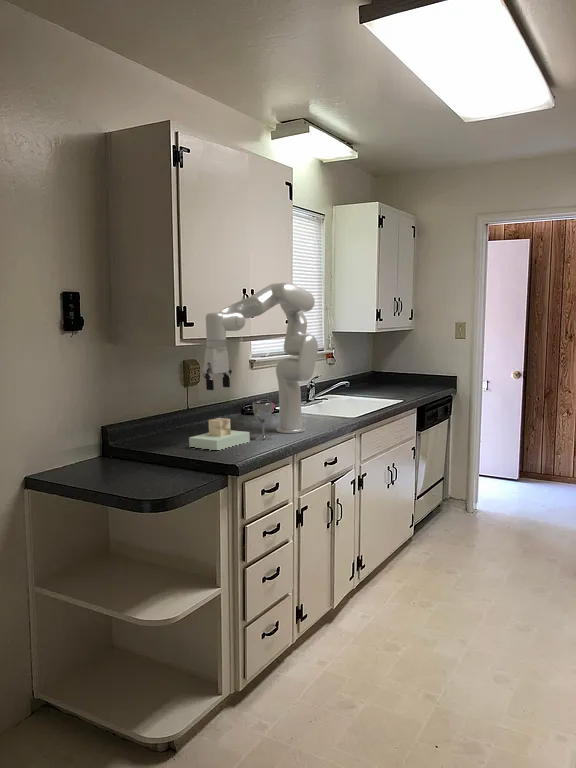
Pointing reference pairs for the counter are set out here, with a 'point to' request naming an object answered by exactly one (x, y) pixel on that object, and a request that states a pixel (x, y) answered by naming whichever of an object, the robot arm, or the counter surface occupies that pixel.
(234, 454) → the counter surface
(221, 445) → the sage stand
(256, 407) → the wine glass
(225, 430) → the maple cube
